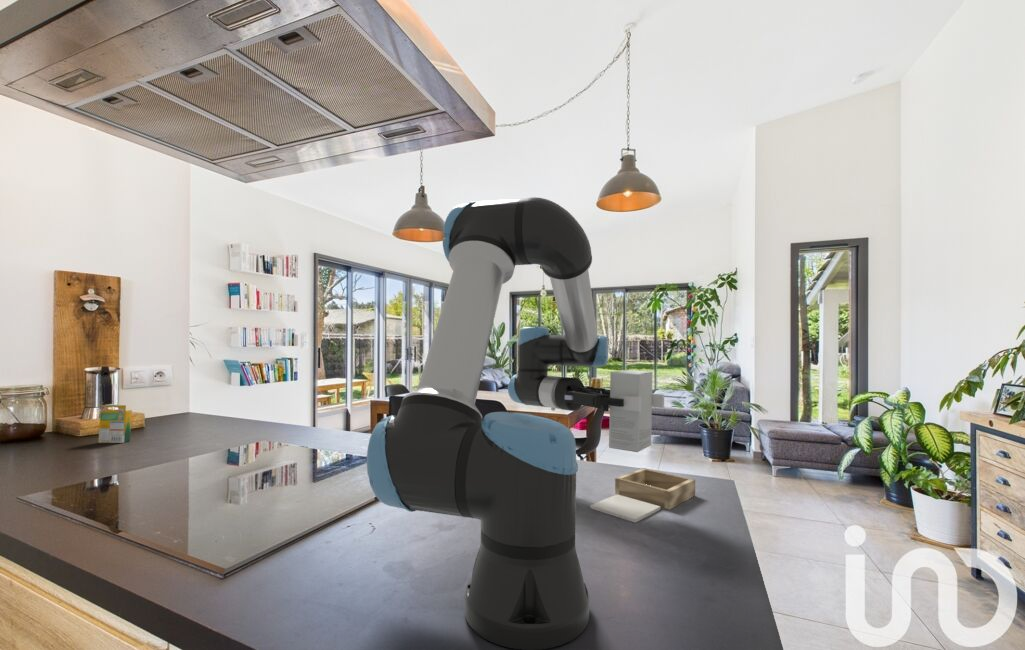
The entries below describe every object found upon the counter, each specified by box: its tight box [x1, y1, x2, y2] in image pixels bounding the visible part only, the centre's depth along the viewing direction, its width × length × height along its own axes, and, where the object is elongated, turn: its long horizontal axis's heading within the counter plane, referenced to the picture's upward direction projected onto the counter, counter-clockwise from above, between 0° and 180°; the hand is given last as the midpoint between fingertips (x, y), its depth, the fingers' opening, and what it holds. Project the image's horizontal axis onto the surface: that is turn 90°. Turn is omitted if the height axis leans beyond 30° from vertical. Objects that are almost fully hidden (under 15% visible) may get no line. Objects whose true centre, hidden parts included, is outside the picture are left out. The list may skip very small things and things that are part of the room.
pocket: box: [614, 467, 696, 510], centre depth 100 cm, size 12×12×4 cm
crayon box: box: [97, 404, 133, 444], centre depth 142 cm, size 7×3×12 cm, turn 97°
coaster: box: [589, 494, 662, 523], centre depth 91 cm, size 10×10×1 cm
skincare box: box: [608, 369, 653, 453], centre depth 93 cm, size 8×7×16 cm
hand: (652, 402), depth 90 cm, fingers closed on skincare box, 9 cm apart
